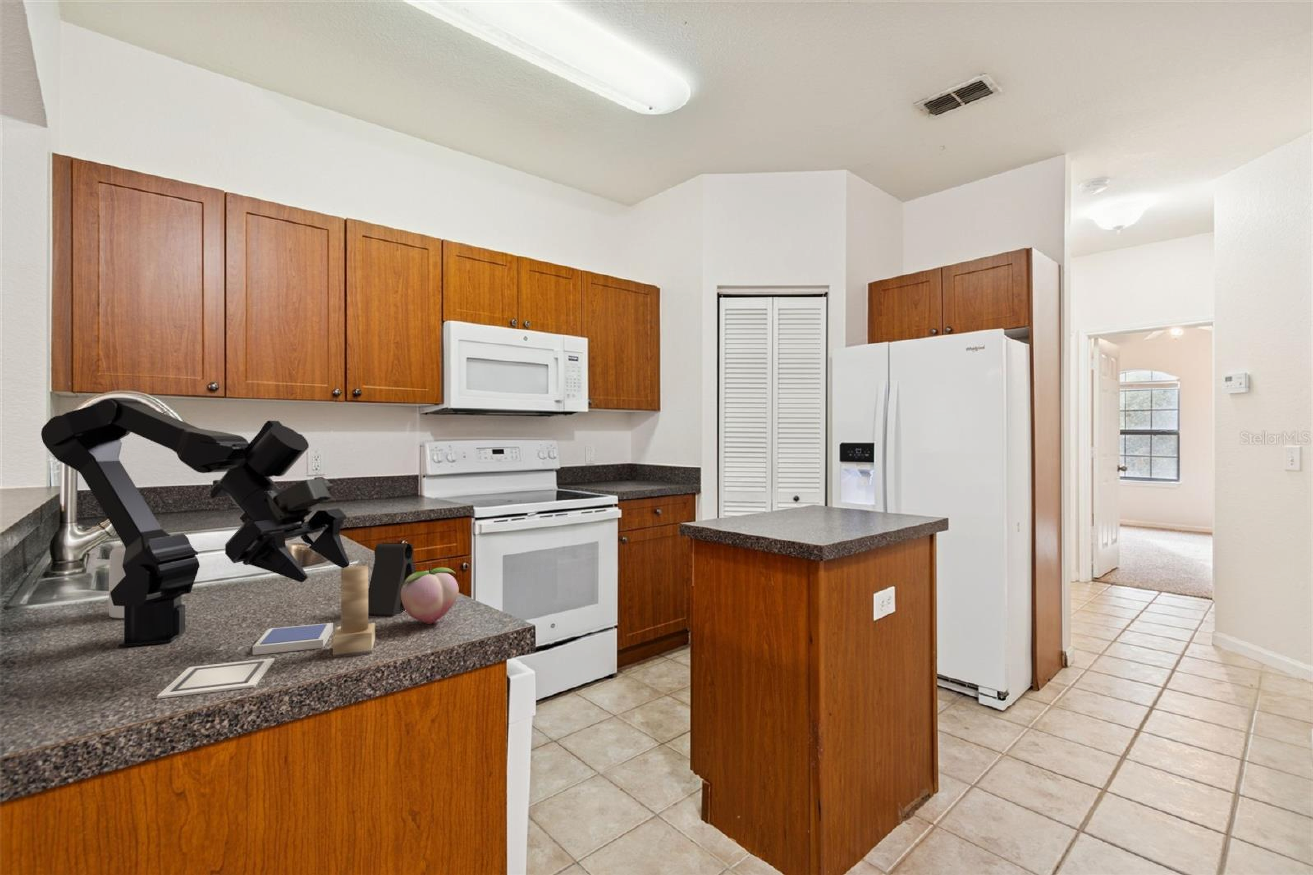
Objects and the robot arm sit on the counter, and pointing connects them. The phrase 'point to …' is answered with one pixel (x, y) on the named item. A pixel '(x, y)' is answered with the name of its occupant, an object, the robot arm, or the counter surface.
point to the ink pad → (293, 638)
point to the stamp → (354, 615)
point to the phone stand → (389, 578)
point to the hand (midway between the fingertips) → (327, 573)
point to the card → (217, 678)
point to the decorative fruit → (429, 594)
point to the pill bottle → (116, 578)
